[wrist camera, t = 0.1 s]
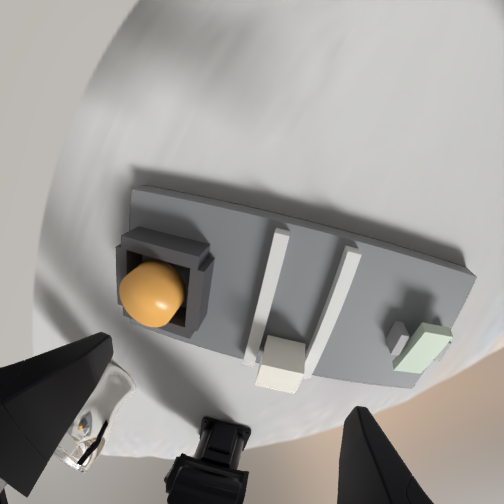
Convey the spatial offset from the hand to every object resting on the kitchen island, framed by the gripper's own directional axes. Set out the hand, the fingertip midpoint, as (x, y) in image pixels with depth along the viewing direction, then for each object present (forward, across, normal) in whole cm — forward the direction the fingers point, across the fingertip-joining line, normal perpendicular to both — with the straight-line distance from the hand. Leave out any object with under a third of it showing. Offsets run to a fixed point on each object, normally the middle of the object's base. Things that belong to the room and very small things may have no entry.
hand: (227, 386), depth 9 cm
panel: (+15, -3, +4) cm, 15 cm away
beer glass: (+15, +16, +24) cm, 32 cm away
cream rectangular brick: (+12, -3, +8) cm, 15 cm away
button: (+11, +8, +4) cm, 14 cm away
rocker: (+11, -14, +4) cm, 18 cm away
